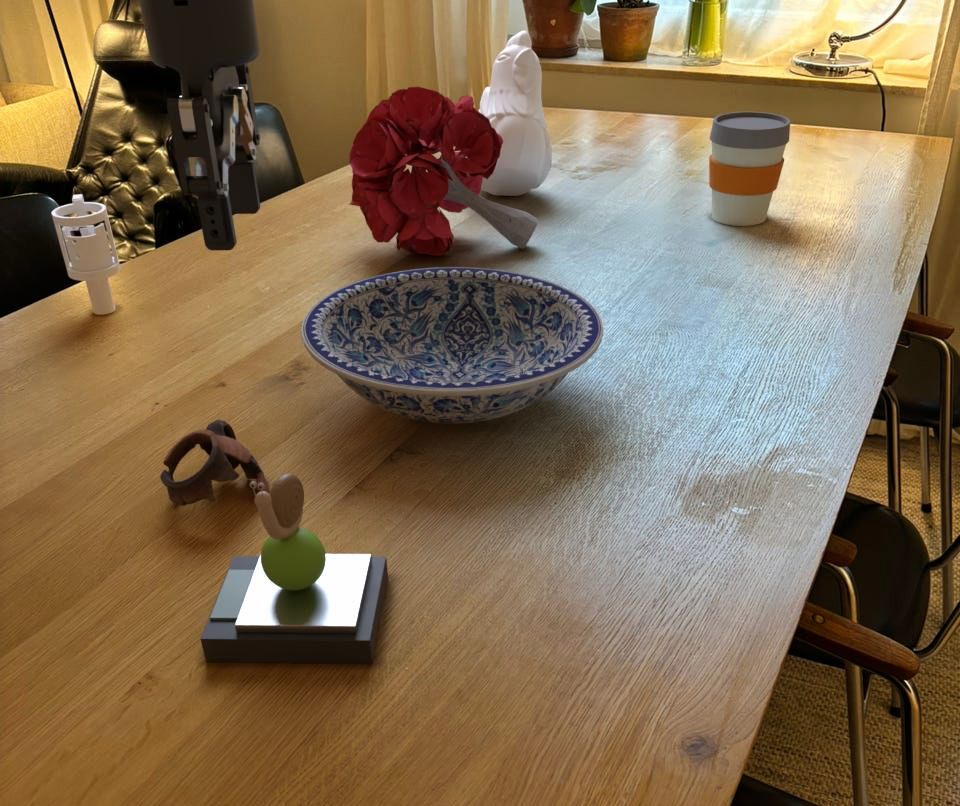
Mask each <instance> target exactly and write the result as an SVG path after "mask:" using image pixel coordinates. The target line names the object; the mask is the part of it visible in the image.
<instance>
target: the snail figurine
mask: <svg viewBox="0 0 960 806" xmlns="http://www.w3.org/2000/svg"><path fill="white" fill-rule="evenodd" d="M249 487H250V488H251V489H253V494H254V501H253V502H254V504H255V506H256V507H257V510H258V514H259V518H260V521H261V523H262V525H263V528H264V529H265V531H266V533H267V535H268V537H267V538H266V540H265V541H264V542H263V545H262V547H261V551H260V554H261V565H262V568H263V571H264V573H265V575H266V576H267V578H268V579H269V580H270V581H271V582H272V583H273V584H275V585H276V586H278V587H280V588H282V589H286V590H302V589H305V588H307V587H309V586H311V585H313V584H314V583H315V582H316V581H317V580H318V579H319V578H320V577H321V575H322V573H323V571H324V568H325V564H326V554H327V553H326V549H325V547H324V544H323V543H322V541H321V539H320V538H319V537H318V536H317V535H316V534H315V533H314V532H312V531H311V530H310V529H309V528H308V529H307V528H305V527H302V526H300V524H301V522H302V519H303V515H304V503H305V489H304V486H303V483H302V481H301V479H300V478H299V477H298V476H297V475H295V474H293V473H284V474H281V475H280V476H278V477H277V478H276V480H275V481H274V482H273V484H272V486H271V488H270V491H269V493H267V492H265V491H262V490H263V489H264V488H265V485H264V484H263V483H259V484H258V488H259V489H260V490H261V492H259V491H258V492H257V493H256V491H255V490H256V487H257V483H256V481H251V482H250V483H249Z"/></svg>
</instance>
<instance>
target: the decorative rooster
mask: <svg viewBox="0 0 960 806" xmlns="http://www.w3.org/2000/svg"><path fill="white" fill-rule="evenodd" d="M532 44H533V41H532V39H531V36H530V34H529V32H528V31H527V30H521V31H519V32H518V33H516V34H515V35H513V36H511V37H510V38H509V40H508V41H506V44H505V47H504V49H503V50H502V51H500V52H499V54H498V55H497V56H496V57H495V60H494V62H493V65H492V69H491V76H490V84H489V86H486V87H485V88H484V90H483V92H482V95H481V97H480V101H479V110H478V112H479V113H481V114H483V115H484V116H485V117H487V118H488V119H489V120H490V124H491V127H492V128H494V129H495V130H496V133H497V134H499V135H500V136H501V137H502V140H503V144H502V148H501V151H500V157H499V158H498V160H497V164H496V167H495V169H494V172H493V174H492V175H491V176H490V177H489V178H488V179H486V178H484V177H483V181H482V185H481V189H480V190H481V191H483V192H486V193H487V194H491V195H493V196H505V197H506V196H509V197H519V196H523V195H524V194H527V193H528V192H530V191H532V190H536V189H538V188H539V187H540V186H542V185H543V183H544V182H545V181H546V179H547V177H548V175H549V173H550V171H551V168H552V162H553V149H552V143H551V140H550V136H549V132H548V131H547V128H548V126H547V125H548V124H547V122H546V117H545V113H544V108H543V101H542V100H543V99H542V87H543V86H542V85H543V72H542V65H541V64H540V63H541V62H540V58H539V57H538V55H537V54H536V52H535V51H534V50H533V48H532V47H533V46H532ZM466 158H467V157H466Z"/></svg>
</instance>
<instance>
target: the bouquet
mask: <svg viewBox="0 0 960 806" xmlns="http://www.w3.org/2000/svg"><path fill="white" fill-rule="evenodd" d="M474 105H475V102H474V98H473V96H470V95H461V97H460V98H458V100H457V102H456V103H454V102H453V101H452V100H451V99H450V98H449V97H447V96H444V95H443V94H442V93H440V92H439V91H437V90H434V89H428V88H425V87H421V86H409V87H408V88H407V89H406V88H402V89H397V90H395V91H394V92H392V93H391V95H390V96H389V97H388V99H382V100H381V101H380V102H379V103H378V104H377V105H375V106H374V108H372V110H371V111H370V112H369V114H368V116H367V119H366V122H365V123H364V124H363V125H362V126H361V128H360V129H359V130H358V132H356V134H355V136H354V139H353V142H352V146H351V149H350V151H349V165H350V167H351V170H352V178H351V188H352V193H351V200H350V202H349V203H348V205H350V206H353V207H354V206H355V207H359V210H360V211H361V213H362V215H363V216H364V219H365V223H366V225H367V227H368V229H369V230H370V232H371V236H372V239H373V240H375V242H377V243H380V244H382V243H385V244H388V243H390V242H391V241H392V239H393V238H394V237H395V236H396V237H395V239H396V241H395V242H396V252H399V251H401V249H402V250H404V251H406V252H407V251H408V252H414V253H417V254H425V255H426V254H428V255H431V256H435V257H436V256H442V255H443V256H444V255H445V254H448V253H450V250H451V248H452V249H454V244H455V243H454V242H455V236H454V234H453V232H452V229H451V228H452V227H451V224H450V220H449V218H447V216H446V215H445V214H444V212H443V211H446V212H448V213H458V214H460V213H462V212H463V210H466V209H470V210H472V211H474V212H475V213H477V214H478V215H479V216H480V217H482V218H483V219H484V220H485V221H486V222H487V223H488V224H489V225H491V227H492V228H493V229H494V230H496V231H497V233H499V234H500V235H501V236H502V237H504V238H505V239H506V240H507V241H508V242H509V243H510V244H511V245H513V246H515V247H517V248H519V249H521V250H523V249H525V247H526V246H527V245H528V243H529V241H530V239H531V238H532V236H533V234H534V232H535V230H536V228H537V224H538V222H539V219H538V218H537V217H535V216H534V215H532V214H530V213H529V212H527V211H524V210H520V209H517V208H514V207H511V206H507V205H504V204H501V203H498V202H494V201H492V200H489V199H486V198H483V197H482V196H481V193H482V190H480V189H481V185H482V181H483V177H484V178H486V179H488V178H489V177H490V176H491V175H492V174H493V172H494V169H495V167H496V164H497V160H498V158H499V157H500V151H501V148H502V144H503V140H502V137H501V136H500V135H499V134H497V133H496V130H495V129H494V128H492V127H491V124H490V120H489V119H488V118H487V117H485V116H484V115H483V114H481V113H479V110H477V108H475V107H474ZM438 153H440V156H439V157H437V156H434V155H435V154H438ZM466 157H467V158H466ZM407 166H411V170H410V169H409V168H407ZM441 209H442V210H443V211H442V210H441Z"/></svg>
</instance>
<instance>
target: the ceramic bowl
mask: <svg viewBox="0 0 960 806" xmlns="http://www.w3.org/2000/svg"><path fill="white" fill-rule="evenodd" d="M300 336H301V340H302V343H303V345H304V348H305V350H306V351H307V352H308V354H309V356H311V358H312V359H313V360H315V361H316V362H317V364H319V365H320V366H322V367H323V368H325V369H326V370H328V371H329V372H332V373H333V374H335V375H337V376H338V377H339V379H341V381H342V382H343V383H345V385H346V386H347V387H348V388H350V390H352V391H353V392H355V394H357V395H358V396H360V397H361V398H362V399H364V400H366V401H367V402H369V403H370V404H372V405H374V406H376V407H377V408H380V409H382V410H384V411H386V412H389V413H391V414H394V415H397V416H399V417H402V418H403V417H404V418H407V419H410V420H414V421H415V420H416V421H420V422H426V423H435V424H469V423H470V424H471V423H478V422H479V423H480V422H483V421H484V422H485V421H490V420H495V419H499V418H503V417H505V416H508V415H511V414H514V413H516V412H518V411H519V412H520V411H521V410H523V409H525V408H528V407H529V406H531V405H533V404H535V403H536V402H538V401H539V400H541V399H542V398H545V396H546V395H548V394H549V393H550V392H551V391H553V390H554V389H555V388H557V386H558V385H560V384H561V383H562V381H563V380H564V379H565V378H566V377H567V375H568V374H569V373H571V372H573V371H574V370H576V369H578V368H579V367H581V366H582V365H584V364H585V363H586V362H587V361H589V359H591V358H592V357H593V356H594V355H595V353H596V352H597V351H598V350H599V347H600V345H601V344H602V341H603V337H604V325H603V319H602V318H601V316H600V314H599V312H598V311H597V309H596V308H595V307H594V306H593V305H592V304H591V303H590V302H589V301H587V299H586V298H584V297H582V296H581V295H579V294H578V293H576V292H575V291H574V290H573V291H572V290H571V289H569V288H567V287H564V286H563V285H560V284H558V283H555V282H552V281H549V280H546V279H544V278H541V277H537V276H532V275H530V274H529V275H528V274H524V273H518V272H514V271H509V270H503V269H493V268H486V267H485V268H484V267H471V266H469V267H468V266H467V267H465V266H442V267H441V266H440V267H439V266H438V267H424V268H423V267H422V268H414V269H407V270H399V271H393V272H388V273H383V274H378V275H374V276H371V277H370V276H369V277H368V278H364V279H360V280H357V281H354V282H351V283H349V284H346V285H344V286H341V287H340V288H338V289H336V290H333V291H332V292H329V293H328V294H327V295H325V296H323V297H322V298H321V299H320V300H318V301H317V302H315V304H313V305H312V306H311V308H310V309H309V310H308V311H307V312H306V314H305V316H304V317H303V320H302V323H301V329H300Z"/></svg>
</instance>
